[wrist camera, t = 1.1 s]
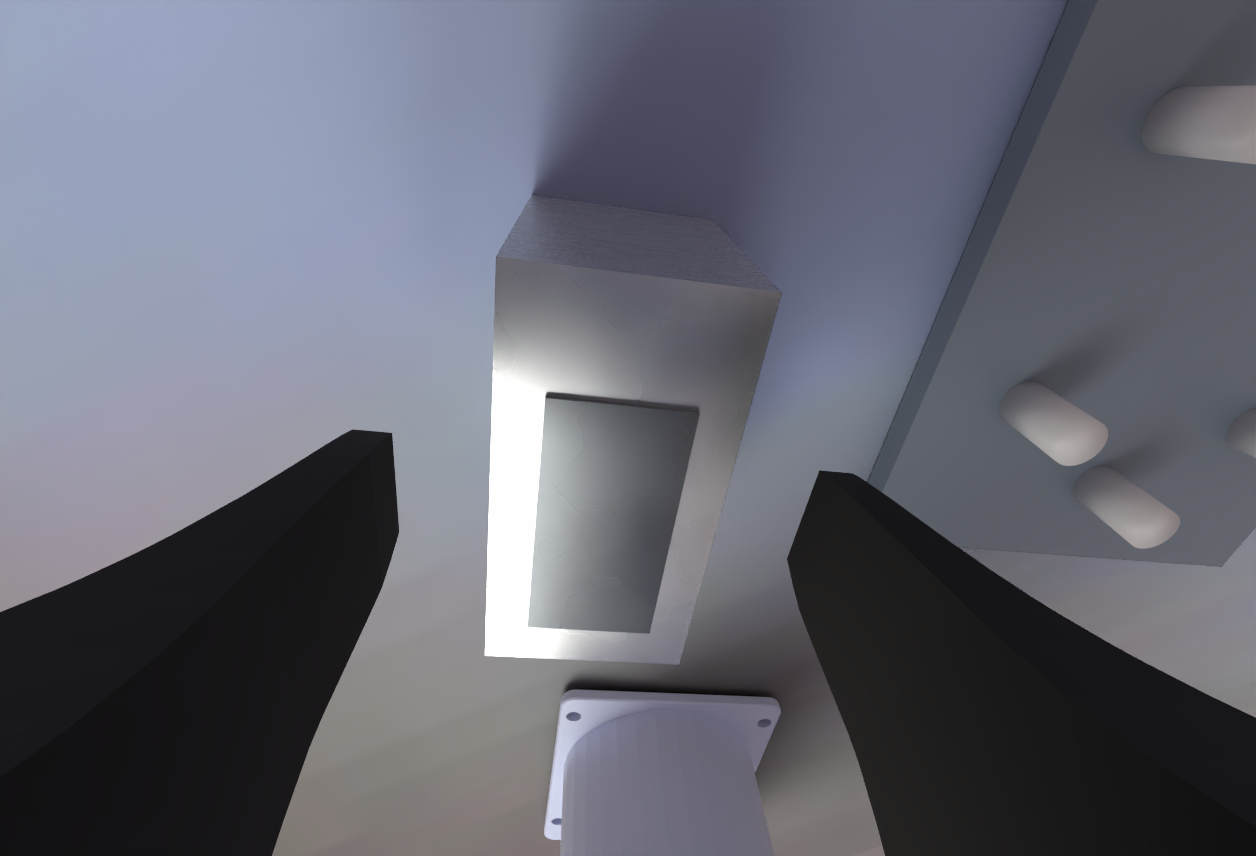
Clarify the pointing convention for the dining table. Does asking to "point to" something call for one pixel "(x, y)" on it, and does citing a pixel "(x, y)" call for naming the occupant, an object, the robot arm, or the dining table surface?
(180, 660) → the robot arm
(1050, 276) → the grey knobbed plate
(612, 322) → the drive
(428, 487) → the dining table surface
